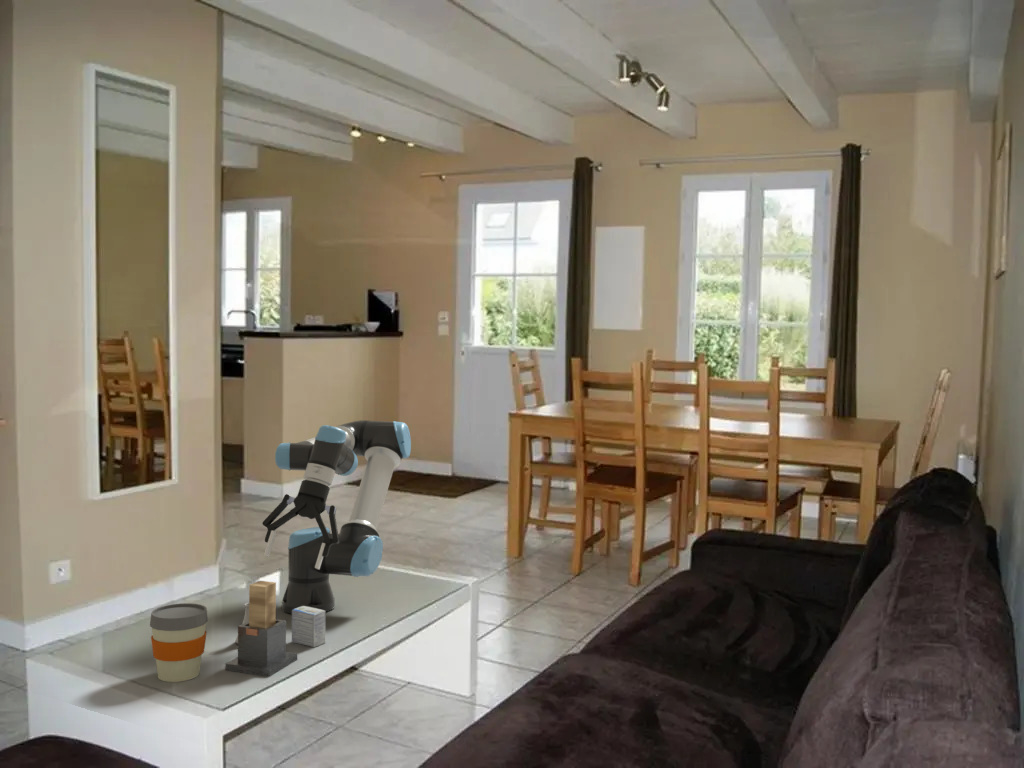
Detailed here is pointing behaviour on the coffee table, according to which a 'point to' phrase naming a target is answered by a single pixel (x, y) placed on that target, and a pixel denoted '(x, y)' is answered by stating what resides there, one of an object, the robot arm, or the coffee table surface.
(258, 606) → the oak block
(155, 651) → the reusable coffee cup
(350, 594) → the coffee table surface
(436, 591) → the coffee table surface
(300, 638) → the medicine box
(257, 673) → the metal stand
